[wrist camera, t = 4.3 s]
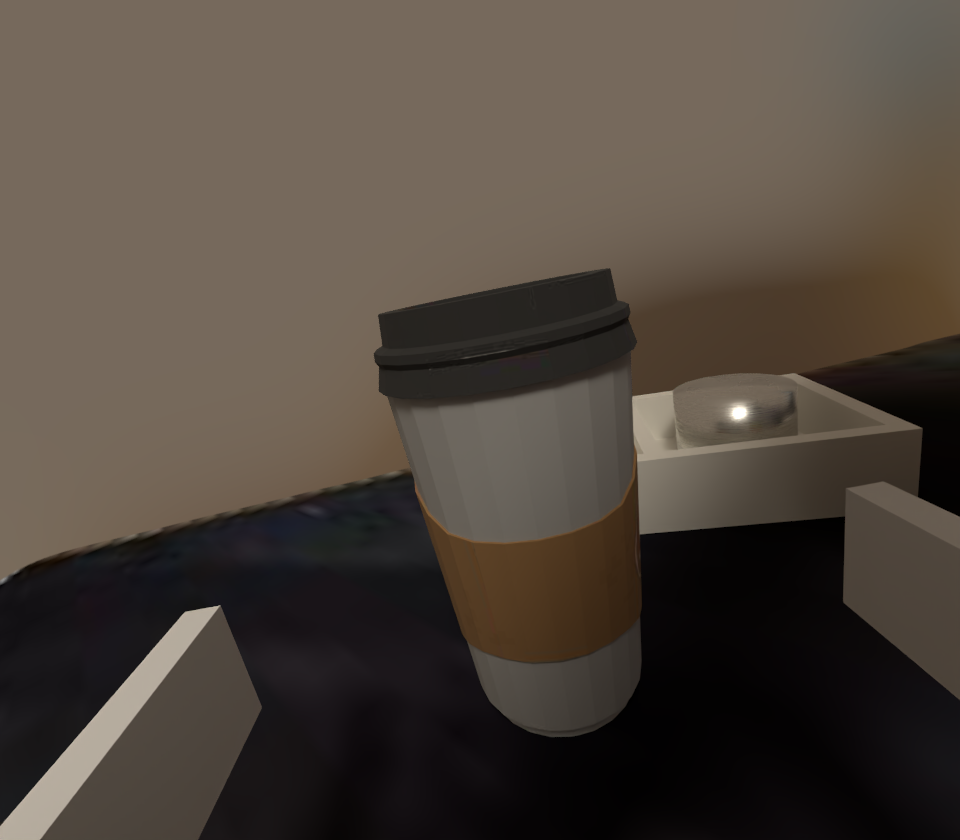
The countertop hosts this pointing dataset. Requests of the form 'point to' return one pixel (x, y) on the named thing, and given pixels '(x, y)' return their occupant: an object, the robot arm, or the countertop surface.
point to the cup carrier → (770, 464)
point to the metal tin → (735, 409)
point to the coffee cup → (529, 487)
